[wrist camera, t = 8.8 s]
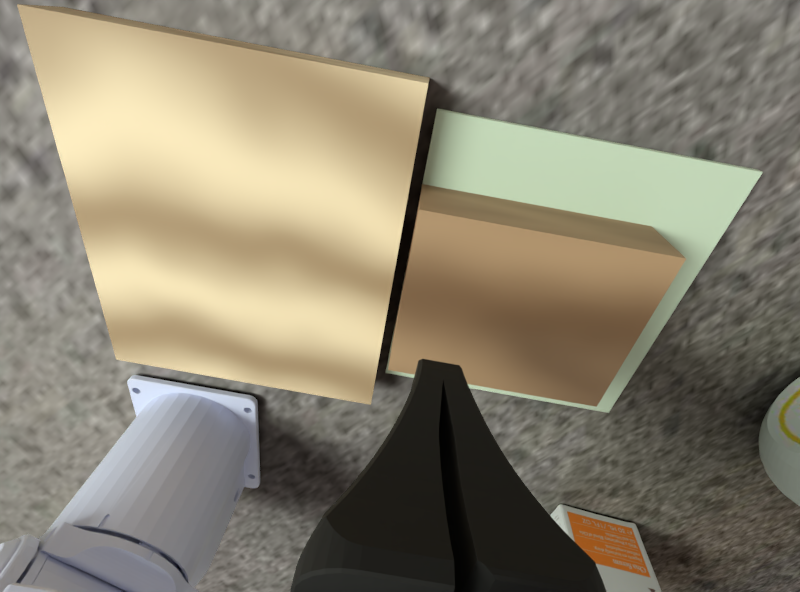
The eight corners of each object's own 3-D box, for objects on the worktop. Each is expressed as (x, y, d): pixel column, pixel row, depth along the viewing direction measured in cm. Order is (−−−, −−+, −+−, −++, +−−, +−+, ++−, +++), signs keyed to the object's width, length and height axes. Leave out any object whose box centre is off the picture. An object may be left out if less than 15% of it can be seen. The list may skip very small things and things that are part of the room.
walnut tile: (579, 364, 22) (596, 406, 20) (393, 331, 22) (388, 369, 20) (651, 226, 18) (686, 258, 15) (422, 183, 18) (419, 209, 15)
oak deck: (375, 378, 25) (370, 404, 23) (138, 336, 24) (116, 359, 23) (429, 77, 16) (428, 83, 14) (62, 7, 16) (17, 4, 14)
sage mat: (606, 407, 24) (608, 412, 24) (386, 367, 24) (385, 372, 24) (756, 169, 17) (762, 172, 16) (437, 108, 16) (436, 109, 16)
